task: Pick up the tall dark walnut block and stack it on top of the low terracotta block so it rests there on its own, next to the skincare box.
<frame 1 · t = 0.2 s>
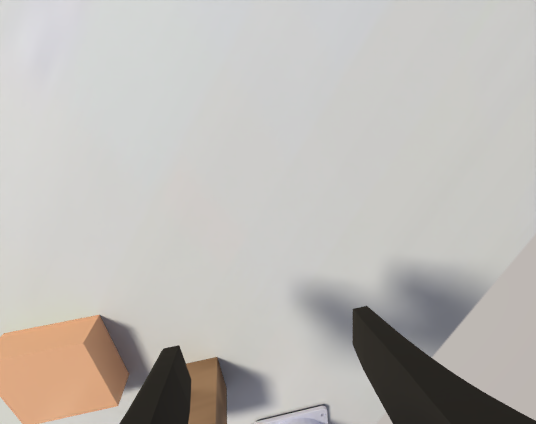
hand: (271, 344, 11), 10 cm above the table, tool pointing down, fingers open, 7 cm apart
walnut block: (198, 378, 26), on the table
terracotta block: (73, 352, 23), on the table
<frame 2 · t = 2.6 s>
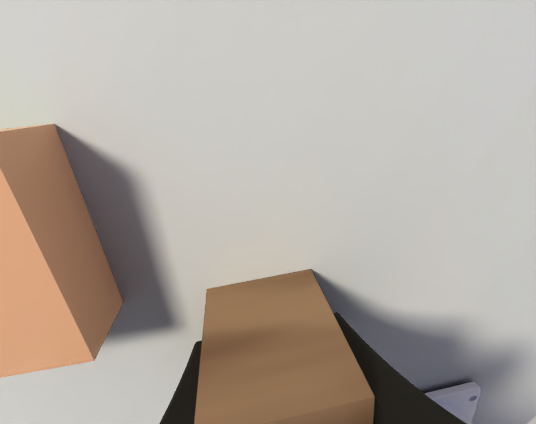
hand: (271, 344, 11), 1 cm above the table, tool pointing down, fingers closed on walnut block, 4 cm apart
walnut block: (266, 318, 12), on the table, touching gripper
when the fingers open (6 cm above the table, at t = 5.9 s): walnut block stays where it is, resting on terracotta block.
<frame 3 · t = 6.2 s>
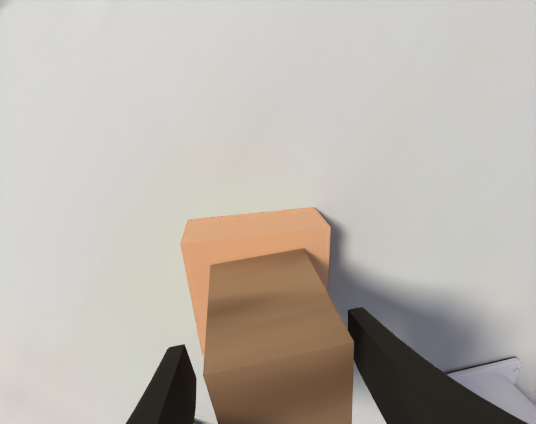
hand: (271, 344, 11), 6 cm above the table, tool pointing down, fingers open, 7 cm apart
walnut block: (263, 293, 14), point 3 cm above the table, touching terracotta block
terracotta block: (256, 263, 17), on the table, touching walnut block
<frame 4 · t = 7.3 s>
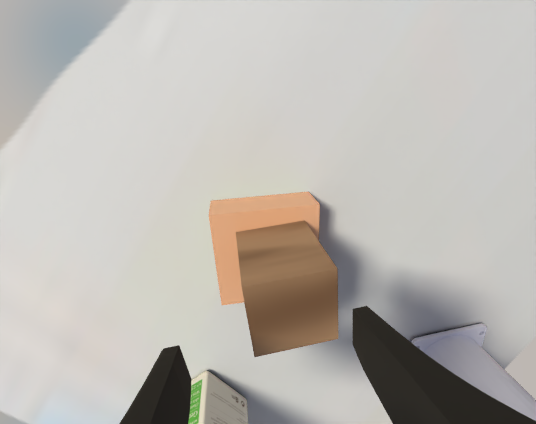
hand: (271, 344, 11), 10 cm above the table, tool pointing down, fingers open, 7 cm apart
skincare box: (197, 403, 27), on the table
walnut block: (274, 255, 18), point 3 cm above the table, touching terracotta block
terracotta block: (262, 236, 21), on the table, touching walnut block
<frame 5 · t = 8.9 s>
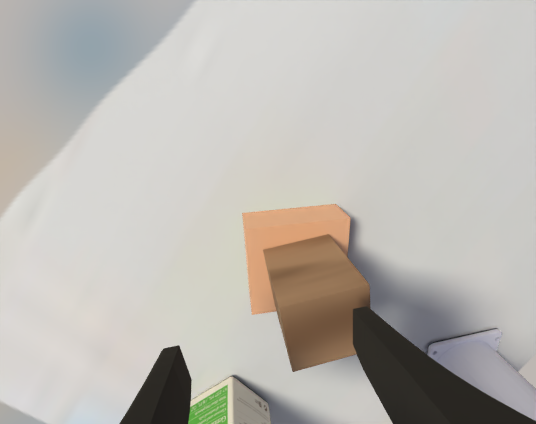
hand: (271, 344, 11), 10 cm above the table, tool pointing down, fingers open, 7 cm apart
skincare box: (219, 407, 28), on the table
walnut block: (300, 269, 19), point 3 cm above the table
terracotta block: (289, 247, 22), on the table
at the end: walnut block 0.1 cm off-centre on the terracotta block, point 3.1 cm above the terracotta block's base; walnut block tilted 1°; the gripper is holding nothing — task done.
